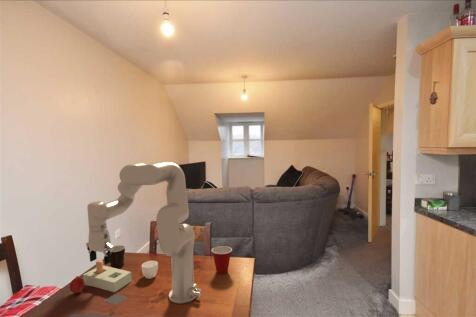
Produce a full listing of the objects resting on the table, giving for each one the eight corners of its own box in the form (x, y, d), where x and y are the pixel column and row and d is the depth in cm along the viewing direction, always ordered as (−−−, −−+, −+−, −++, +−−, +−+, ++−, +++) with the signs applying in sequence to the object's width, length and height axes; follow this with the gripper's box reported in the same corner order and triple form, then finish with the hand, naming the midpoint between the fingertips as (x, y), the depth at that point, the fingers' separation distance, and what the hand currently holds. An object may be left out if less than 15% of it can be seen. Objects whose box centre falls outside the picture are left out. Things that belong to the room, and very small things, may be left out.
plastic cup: (234, 266, 138) (233, 245, 137) (230, 277, 127) (230, 254, 127) (214, 265, 140) (214, 244, 139) (209, 275, 129) (208, 252, 128)
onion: (68, 298, 112) (67, 280, 112) (72, 290, 118) (71, 274, 117) (83, 295, 114) (82, 278, 113) (86, 288, 119) (85, 272, 119)
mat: (128, 298, 112) (128, 297, 112) (117, 306, 106) (116, 305, 106) (114, 294, 115) (114, 293, 115) (103, 301, 109) (103, 301, 109)
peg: (105, 280, 126) (104, 260, 126) (99, 283, 124) (98, 263, 123) (100, 279, 128) (99, 259, 127) (95, 282, 125) (94, 262, 124)
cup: (139, 281, 125) (139, 267, 125) (147, 270, 135) (146, 258, 135) (155, 281, 125) (154, 267, 125) (161, 270, 135) (161, 258, 135)
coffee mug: (113, 262, 145) (113, 245, 144) (128, 262, 145) (128, 245, 144) (102, 273, 134) (101, 254, 133) (118, 273, 133) (117, 254, 133)
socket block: (131, 281, 125) (131, 271, 124) (114, 293, 115) (114, 282, 115) (102, 274, 132) (101, 264, 132) (83, 284, 123) (83, 274, 123)
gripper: (117, 226, 124) (119, 260, 125) (92, 223, 131) (94, 256, 132) (104, 231, 117) (106, 268, 118) (78, 228, 124) (81, 262, 125)
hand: (100, 261), depth 125 cm, fingers open, 9 cm apart
